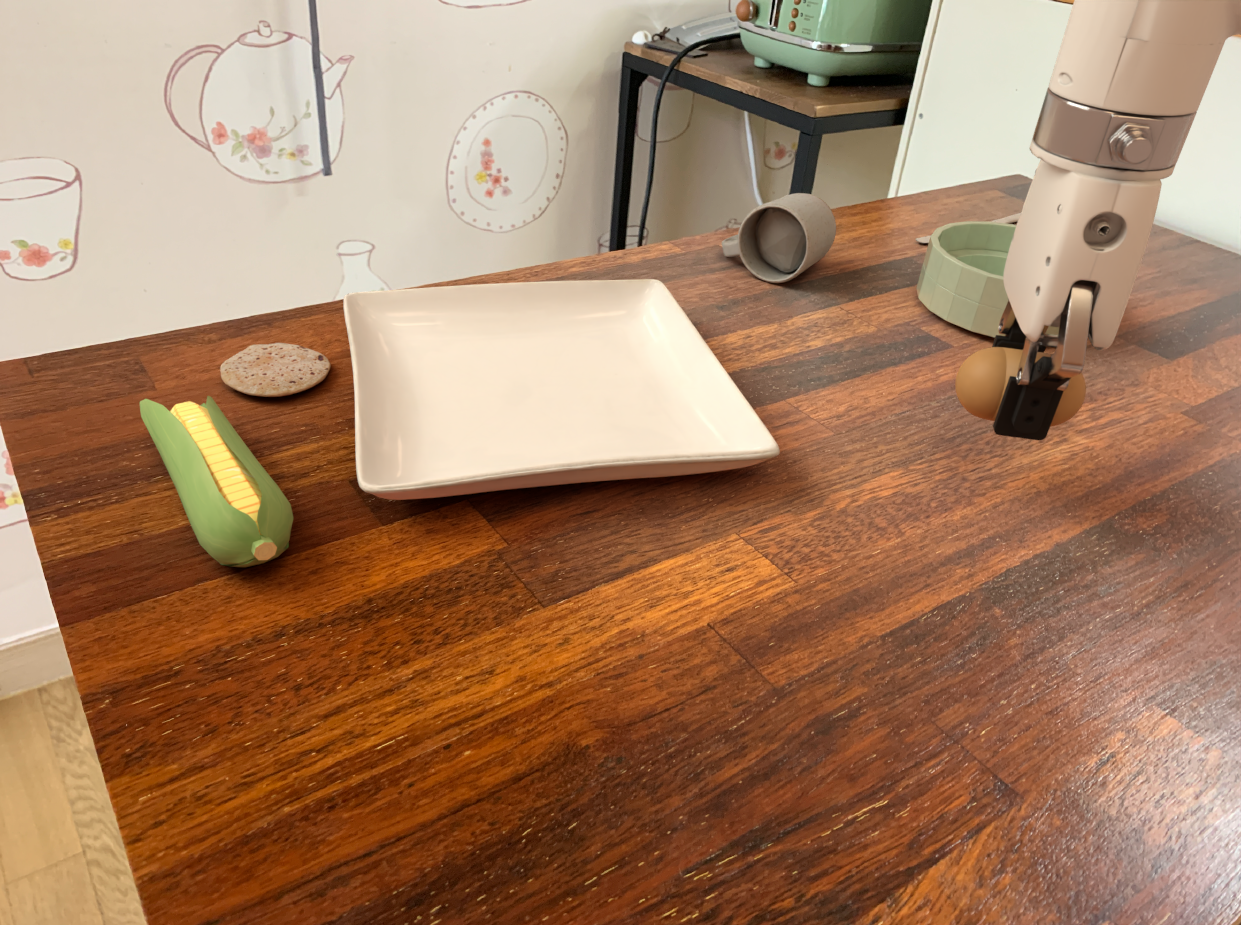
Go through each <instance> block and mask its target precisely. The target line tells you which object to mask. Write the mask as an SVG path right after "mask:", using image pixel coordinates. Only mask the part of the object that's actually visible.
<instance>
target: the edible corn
mask: <svg viewBox="0 0 1241 925" xmlns="http://www.w3.org/2000/svg"><path fill="white" fill-rule="evenodd" d="M138 402H139V411H140V412H139V413H140V417H141V420H142V421H143V423H144V426H145V427H146V429H147V432H148V433H149V435H150V437H151V440H152V441H153V444H154V445H155V447H156V449H157V452H158V453H159V455H160V458H161V460H162V461H163V462H162V463H163V464H164V466H165V469H166V470H167V472H168V475H169V477H170V480H171V481H172V484H173V485H174V488H175V490H176V492H177V494H178V496H179V500H180V502H181V505H182V507H183V509H184V512H185V515H186V517H187V519H188V522H189V524H190V527H191V529H192V531H193V533H194V535H195V537H196V539H197V542H198V543H199V546H201V548H203V549H204V550H205V552H206V553H207V554H208V555H209V556H210V557H211V558H212V559H213V560H215V561H216V562H217V563H219V565H220V566H224V567H235V568H248V567H252V566H256V565H257V566H258V565H262V564H265V563H267V562H270V561H271V560H274V559H276V558H278V557H279V556H281V555H282V554H283V553H284V552H285V551H286V550H287V549H288V548H290V542H289V541H290V538H291V533H292V528H293V523H294V514H293V508H292V504H291V503H290V501H289V500H288V498H287V497H286V495H285V494H284V492H283V491H282V490H281V488H280V486H279V485H278V484H277V482H275V480H274V479H273V478H272V477H271V476H270V474H269V473H268V472H267V471H266V469H265V468H264V467H263V465H262V464H261V463H260V462H259V460H258V459H257V458H256V457H255V455H254V454H253V452H252V451H251V449H250V448H249V447H248V445H246V443H245V442H244V441H243V439H242V437H241V436H240V435H239V433H238V432H237V431H236V429H235V428H234V427H233V425H232V424H231V422H230V421H229V419H228V418H227V417H226V415H225V413H224V412H223V411H222V409H221V408H220V407H219V405H218V404H217V403H216V401H215V400H214V398H213V396H210V395H207V396H206V401H205V402H203V403H201V404H199V403H196V402H194V401H191V400H188V401H184V402H179V403H176V404H174V405H173V407H171V409H170V410H169V409H168V408H167V407H166V406H165V405H163V404H161V403H159V402H156V401H153V400H151V399H150V398H149V399H148V398H144V399H142V400H140V401H138Z"/></svg>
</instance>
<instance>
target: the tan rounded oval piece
mask: <svg viewBox="0 0 1241 925" xmlns="http://www.w3.org/2000/svg"><path fill="white" fill-rule="evenodd" d="M1022 352H1023V350H1020V349H1012V348H1004V347H992V346H991V347H984V348H981V349H979V350H977V351H975V352H974V353H973V352H972V354H970V355H969V356H968V357H966V359H964V361H963V362H962V364H961V365H960V366H959V368H958V370H957V373H956V376H955V380H954V385H955V386H954V387H955V388H954V389H955V393H956V397H957V400H958V401H959V403H960V404H961V406H962V407H963V408H964V410H965V411H966V412H968V413H969V414H971V415H972V416H974V417H977V418H978V419H982V420H986V421H991V422H994V421H995V418H996V416H997V413H998V410H999V407H1000V404H1001V401H1002V398H1003V395H1004V392H1005V389H1006V386H1007V383H1008V380H1009V377H1010V376H1014V377H1016V376H1017V371H1018V368H1019V364H1020V360H1021V356H1022ZM1052 354H1053V353H1051V352H1044V353H1043V352H1037V356H1036V360H1035V362H1037V361H1038V360H1039V359H1040V358H1042V357H1043V356H1045V357H1051V355H1052ZM1086 394H1087V384H1086V379H1085V376H1084V375H1083V373H1082V372H1081V373H1080V374H1079V375H1076V376H1073V377H1071V379H1070V380H1069V384H1068V387H1067V389H1066V390H1065V391H1064V392H1063V394H1062V397H1061V399H1060V402H1059V405H1058V407H1057V410H1056V412H1055V415H1054V418H1053V420H1052V423H1051V426H1050V428H1053V427H1056V426H1059V425H1062V424H1065V423H1066V422H1068V421H1069V420H1071V419H1072V418H1073V417H1074V416H1075V415H1076V414H1077V413H1078V412H1079V411H1080V409H1081V408H1082V406H1083V404H1084V402H1085V400H1086Z"/></svg>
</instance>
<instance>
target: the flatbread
mask: <svg viewBox="0 0 1241 925" xmlns="http://www.w3.org/2000/svg"><path fill="white" fill-rule="evenodd" d="M331 367H332V366H331V361H330V359H328V357H327V356H325V354H322V353H321V352H319V351H316V350H314V349H311V348H309V347H306V346H302V345H298V344H292V343H286V342H275V343H268V344H266V343H265V344H264V343H259V344H256V343H253V344H250V345H248V346H247V347H246V348H244V349H243V350H241V351H238V353H235V354H234V355H232V356H230V357H229V358H228V359H226V360H224V361H223V362H222V363H221V365H220V367H219V371H220V378H221V380H222V382H223V383H224V385H225V386H228V387H229V388H231V389H233V390H236V391H237V392H240V393H242V394H246V395H248V396H256V397H265V398H267V397H268V398H277V397H286V396H291V395H293V394H297V393H301V392H305V391H306V390H309V389H312V388H314V387H315V386H316V385H319V384H320V383H321V382H323V381H324V380H325V379H326V377H327V376H328V374H329V372H330V370H331Z"/></svg>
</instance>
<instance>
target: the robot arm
mask: <svg viewBox="0 0 1241 925" xmlns="http://www.w3.org/2000/svg"><path fill="white" fill-rule="evenodd" d="M1238 35H1241V0H1073V4H1072V7H1071V10H1070V14H1069V16H1068V20H1067V24H1066V27H1065V30H1064V33H1063V37H1062V40H1061V43H1060V46H1059V50H1058V54H1057V56H1056V60H1055V63H1054V66H1053V69H1052V73H1051V77H1050V79H1049V82H1048V87H1047V89H1046V92H1045V96H1044V98H1043V102H1042V105H1041V108H1040V112H1039V115H1038V118H1037V122H1036V125H1035V128H1034V131H1033V135H1032V138H1031V141H1030V145H1029V151H1030V153H1031V154H1032V155H1033V156H1034V157H1035V158H1037V159H1040V160H1039V163H1038V166H1037V167H1036V169H1035V171H1034V175H1033V178H1032V181H1031V183H1030V186H1029V188H1028V192H1027V194H1026V197H1025V200H1024V201H1023V202H1024V203H1023V205H1022V208H1021V211H1020V212H1021V214H1020V217H1019V220H1018V221H1017V222H1016V225H1017V226H1016V229H1015V232H1014V235H1013V238H1012V241H1011V245H1010V248H1009V252H1008V256H1007V259H1006V264H1005V268H1004V274H1003V281H1004V287H1005V290H1006V293H1007V296H1008V300H1009V301H1008V303H1007V305H1006V308H1005V310H1004V312H1003V315H1002V317H1001V319H1000V323H999V329H998V330H999V334H1006V335H1005V336H1000V335H996V336H995V338H993V342H992V346H991V347H1004V348H1012V349H1020V350H1023V352H1022V356H1021V360H1020V364H1019V368H1018V371H1017V376H1016V377H1014V376H1010V377H1009V380H1008V383H1007V386H1006V389H1005V392H1004V395H1003V398H1002V401H1001V404H1000V407H999V410H998V413H997V416H996V418H995V421H993V425H992V428H993V430H994V433H995V435H998V436H1001V437H1002V436H1003V437H1011V438H1018V439H1023V440H1024V439H1025V440H1032V441H1043V440H1045V439H1046V437H1047V436H1048V433H1049V431H1050V428H1051V427H1050V426H1051V423H1052V420H1053V418H1054V415H1055V412H1056V410H1057V407H1058V405H1059V402H1060V399H1061V397H1062V394H1063V392H1064V391H1065V390H1066V389H1067V387H1068V384H1069V380H1070V379H1071V377H1073V376H1076V375H1079V374H1080V373H1082V372H1083V370H1084V367H1085V362H1086V354H1087V346H1088V341H1089V342H1090V344H1091V345H1092V347H1093V348H1094V350H1097V351H1105V350H1107V349H1108V348H1110V347H1111V346H1112V345H1113V343H1114V341H1115V339H1116V336H1117V334H1118V332H1119V328H1120V325H1121V323H1122V320H1123V317H1124V314H1125V312H1126V309H1127V306H1128V303H1129V300H1130V297H1131V294H1132V291H1133V290H1134V285H1135V283H1136V281H1137V280H1136V279H1137V277H1138V274H1139V271H1140V268H1141V265H1142V263H1143V260H1144V256H1145V252H1146V250H1147V246H1148V243H1149V240H1150V236H1151V233H1152V230H1153V226H1154V221H1155V218H1156V217H1155V216H1156V213H1157V210H1158V204H1159V200H1160V195H1161V191H1162V185H1163V183H1162V180H1164V179H1167V178H1169V177H1171V176H1172V175H1173V173H1174V171H1175V168H1176V165H1177V163H1178V161H1179V158H1180V155H1181V154H1182V151H1183V148H1184V146H1185V144H1186V141H1187V138H1188V135H1189V133H1190V130H1191V128H1192V125H1193V123H1194V120H1195V118H1196V116H1197V111H1199V107H1200V106H1201V103H1202V100H1203V98H1204V96H1205V93H1206V91H1207V88H1208V85H1209V83H1210V80H1211V78H1212V75H1213V72H1214V71H1215V67H1216V65H1217V63H1218V61H1219V58H1220V55H1221V53H1222V50H1223V48H1224V45H1225V43H1226V41H1227V40H1228V39H1229V38H1230V37H1233V36H1238ZM1049 326H1053V327H1059V333H1058V335H1053V334H1045V333H1046V331H1047V329H1048V327H1049ZM1047 348H1053V349H1054V352H1053V353H1051V354H1052V355H1051V357H1045V356H1043V357H1042V358H1040V359H1039V360H1038V361H1037V362H1035V360H1036V356H1037V352H1043V353H1045V351H1046V349H1047Z"/></svg>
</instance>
